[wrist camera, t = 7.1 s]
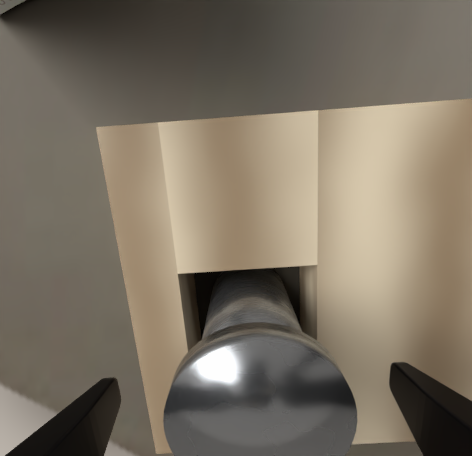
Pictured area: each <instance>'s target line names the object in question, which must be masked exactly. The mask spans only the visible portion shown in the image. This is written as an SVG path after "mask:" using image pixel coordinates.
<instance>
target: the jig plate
mask: <svg viewBox="0 0 472 456" xmlns="http://www.w3.org/2000/svg"><path fill="white" fill-rule="evenodd" d="M96 130H97V135H98V141H99V146H100V152H101V157H102V163H103V168H104V173H105V179H106V184H107V190H108V195H109V200H110V206H111V211H112V217H113V222H114V227H115V233H116V238H117V244H118V249H119V254H120V260H121V265H122V271H123V276H124V282H125V287H126V292H127V298H128V303H129V309H130V314H131V319H132V325H133V330H134V336H135V341H136V346H137V352H138V357H139V363H140V368H141V374H142V379H143V384H144V390H145V395H146V401H147V406H148V411H149V417H150V422H151V428H152V433H153V438H154V444H155V449H156V454H161V453H172V451H171V449H170V447H169V445H168V442H167V440H166V436H165V432H164V424H163V416H164V408H165V404H166V400H167V397H168V393H169V390H170V387H171V384H172V381H173V377H174V374H175V372H176V370H177V367H178V365H179V364H180V362H181V361H182V359H183V357H184V356H185V355H186V354H187V353H188V351H189V350H190V349H191V348H192V347H193V346H195V345H196V344H197V343H198V342H199V341H201V340H202V339H201V330H200V322H199V313H198V304H197V296H196V287H195V278H194V273H198V272H214V271H230V270H245V269H261V268H277V267H293V266H299V279H300V327H301V329H302V332H304V333H305V334H307V335H309V336H311V337H312V338H314V339H315V340H317V341H318V342H319V343H321V344H322V345H323V346H324V347H325V348H326V349H327V350H328V351H329V353H330V354H331V355H332V356H333V358H334V359H335V361H336V363H337V364H338V366H339V368H340V370H341V372H342V374H343V376H344V378H345V380H346V381H347V383H348V385H349V387H350V389H351V391H352V394H353V397H354V399H355V403H356V408H357V428H356V433H355V436H354V440H353V442H352V444H369V443H389V442H410V441H415V439H414V437H413V435H412V433H411V431H410V429H409V427H408V425H407V423H406V421H405V419H404V417H403V415H402V413H401V411H400V409H399V407H398V405H397V403H396V401H395V399H394V397H393V395H392V392H391V390H390V387H389V377H390V366H391V364H392V363H393V362H406V363H408V364H410V365H412V366H413V367H415V368H417V369H418V370H420V371H422V372H424V373H425V374H427V375H429V376H430V377H432V378H434V379H435V380H437V381H439V382H440V383H442V384H444V385H446V386H447V387H449V388H451V389H452V390H454V391H456V392H457V393H459V394H461V395H462V396H464V397H466V398H468V399H469V400H471V401H472V99H461V100H448V101H434V102H421V103H408V104H395V105H382V106H369V107H356V108H343V109H329V110H316V111H303V112H290V113H277V114H264V115H251V116H237V117H224V118H211V119H198V120H185V121H172V122H159V123H146V124H132V125H119V126H106V127H96Z"/></svg>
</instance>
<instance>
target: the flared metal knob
mask: <svg viewBox="0 0 472 456" xmlns="http://www.w3.org/2000/svg"><path fill="white" fill-rule="evenodd" d="M163 424H164V432H165V436H166V440H167V442H168V445H169V447H170V449H171V451H172V453H173V454H174V456H345V455H346V453H347V452H348V450H349V448H350V446H351V444H352V442H353V440H354V436H355V433H356V428H357V408H356V403H355V399H354V397H353V394H352V391H351V389H350V387H349V385H348V383H347V381H346V380H345V378H344V376H343V374H342V372H341V370H340V368H339V366H338V364H337V363H336V361H335V359H334V358H333V356H332V355H331V354H330V353H329V351H328V350H327V349H326V348H325V347H324V346H323V345H322V344H321V343H319V342H318V341H317V340H315V339H314V338H312V337H311V336H309V335H307V334H305V333H304V332H302V329H301V327H300V324H299V322H298V319H297V317H296V315H295V312H294V310H293V307H292V305H291V302H290V300H289V297H288V295H287V292H286V290H285V287H284V285H283V282H282V280H281V279H280V277H279V276H278V274H277V273H276V272H275V271H274V270H272V269H271V268H261V269H245V270H230V271H223V272H222V273H221V274H220V275H219V277H218V278H217V280H216V281H215V284H214V286H213V290H212V295H211V299H210V304H209V309H208V314H207V318H206V323H205V328H204V333H203V337H202V340H201V341H199V342H198V343H197V344H196V345H195V346H193V347H192V348H191V349H190V350H189V351H188V353H187V354H186V355H185V356H184V357H183V359H182V361H181V362H180V364H179V365H178V367H177V370H176V372H175V374H174V377H173V381H172V384H171V387H170V390H169V393H168V397H167V400H166V404H165V408H164V416H163Z"/></svg>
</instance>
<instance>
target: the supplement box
mask: <svg viewBox="0 0 472 456" xmlns="http://www.w3.org/2000/svg"><path fill="white" fill-rule="evenodd" d="M24 1H26V0H0V14H2V13H4V12H6V11H7V10H9V9H11V8H13V7H14V6H16V5H18V4H20V3H22V2H24Z"/></svg>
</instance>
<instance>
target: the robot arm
mask: <svg viewBox="0 0 472 456" xmlns="http://www.w3.org/2000/svg"><path fill="white" fill-rule="evenodd" d="M389 387H390V390H391V392H392V395H393V397H394V399H395V401H396V403H397V405H398V407H399V409H400V411H401V413H402V415H403V417H404V419H405V421H406V423H407V425H408V427H409V429H410V431H411V433H412V435H413V437H414V439H415V441H416V442H417V444H418V446H419V448H420V450H421V452H422V453H423V455H424V456H472V401H471V400H469V399H468V398H466V397H464V396H462V395H461V394H459V393H457V392H456V391H454V390H452V389H451V388H449V387H447V386H446V385H444V384H442V383H440V382H439V381H437V380H435V379H434V378H432V377H430V376H429V375H427V374H425V373H424V372H422V371H420V370H418V369H417V368H415V367H413V366H412V365H410V364H408V363H406V362H393V363H392V364H391V366H390V377H389ZM120 404H121V395H120V390H119V386H118V381H117V379H116V378H103V379H101V380H100V381H99V382H98V383H96V384H95V385H94V386H92V387H91V388H90V389H89V390H87V391H86V392H85V393H84V394H82V395H81V396H80V397H79V398H77V399H76V400H75V401H74V402H72V403H71V404H70V405H68V406H67V407H66V408H65V409H63V410H62V411H61V412H60V413H58V414H57V415H56V416H55V417H53V418H52V419H51V420H49V421H48V422H47V423H46V424H44V425H43V426H42V427H41V428H39V429H38V430H37V431H36V432H34V433H33V434H32V435H31V436H30V437H28V438H27V439H25V440H24V441H23V442H22V443H20V444H19V445H18V446H17V447H15V448H14V449H13V450H12V451H10V452H9V453H8V454H6V455H5V456H104V453H105V450H106V447H107V444H108V441H109V438H110V435H111V432H112V429H113V426H114V423H115V420H116V417H117V414H118V411H119V408H120Z"/></svg>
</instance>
